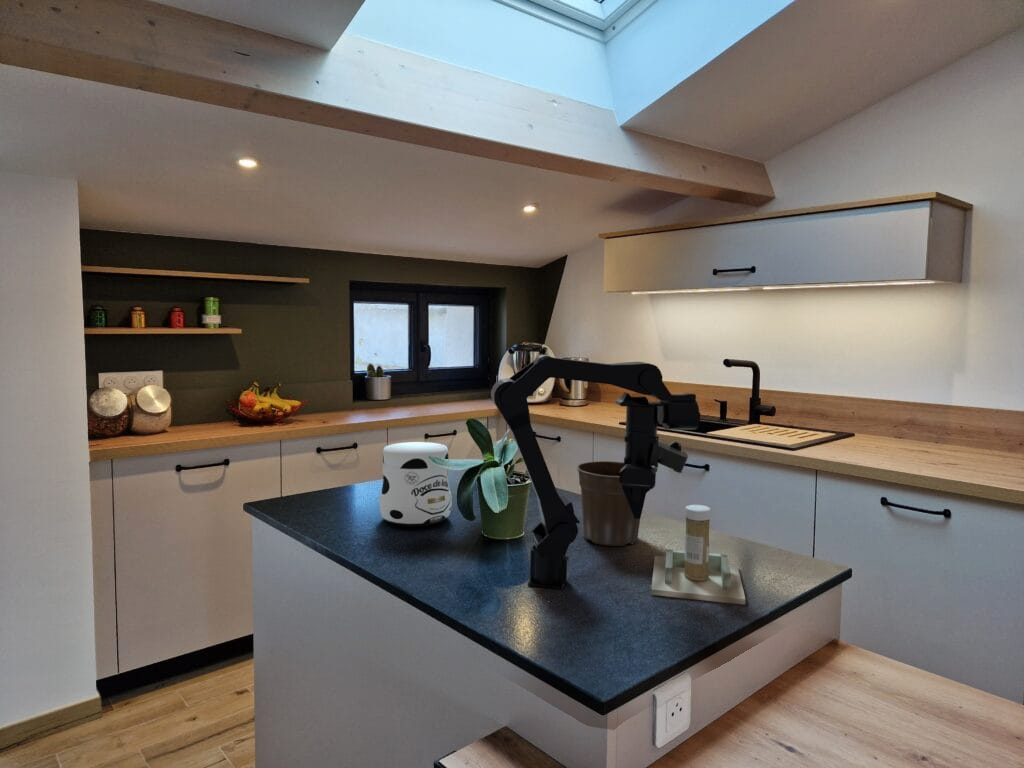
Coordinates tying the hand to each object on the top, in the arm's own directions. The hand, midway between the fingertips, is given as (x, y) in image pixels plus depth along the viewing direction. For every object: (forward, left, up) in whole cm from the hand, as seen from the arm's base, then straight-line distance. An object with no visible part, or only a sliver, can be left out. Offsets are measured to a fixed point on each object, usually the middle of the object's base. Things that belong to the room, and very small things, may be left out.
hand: (638, 511), depth 128 cm
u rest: (+11, +1, -13) cm, 17 cm away
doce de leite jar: (-54, +23, -13) cm, 60 cm away
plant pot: (-7, +23, -13) cm, 27 cm away
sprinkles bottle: (+11, +1, -12) cm, 16 cm away
